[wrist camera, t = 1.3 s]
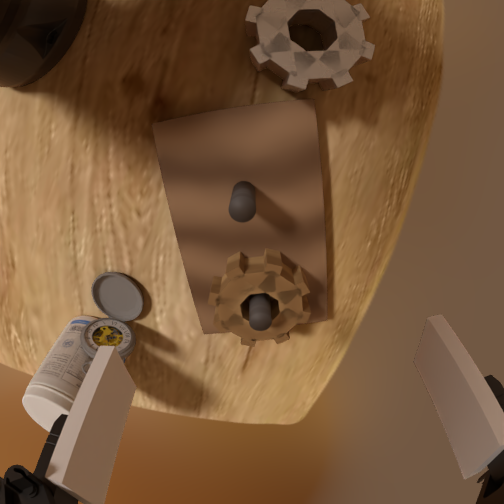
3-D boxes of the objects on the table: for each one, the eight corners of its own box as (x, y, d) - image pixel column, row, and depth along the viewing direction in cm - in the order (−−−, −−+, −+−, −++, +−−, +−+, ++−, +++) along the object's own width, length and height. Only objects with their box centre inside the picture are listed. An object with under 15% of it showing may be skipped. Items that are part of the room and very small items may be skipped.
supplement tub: (107, 372, 40) (76, 451, 27) (59, 332, 37) (13, 406, 24) (142, 346, 37) (109, 439, 24) (87, 299, 34) (31, 385, 21)
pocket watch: (127, 262, 32) (89, 318, 23) (162, 320, 35) (140, 383, 26) (77, 281, 33) (36, 333, 24) (111, 333, 37) (84, 389, 28)
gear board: (156, 123, 25) (130, 128, 20) (310, 99, 25) (327, 96, 19) (205, 325, 35) (198, 365, 30) (324, 312, 35) (336, 351, 29)
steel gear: (240, 2, 20) (238, -18, 16) (344, -2, 20) (361, -20, 15) (255, 97, 25) (256, 94, 20) (360, 90, 24) (381, 87, 19)
